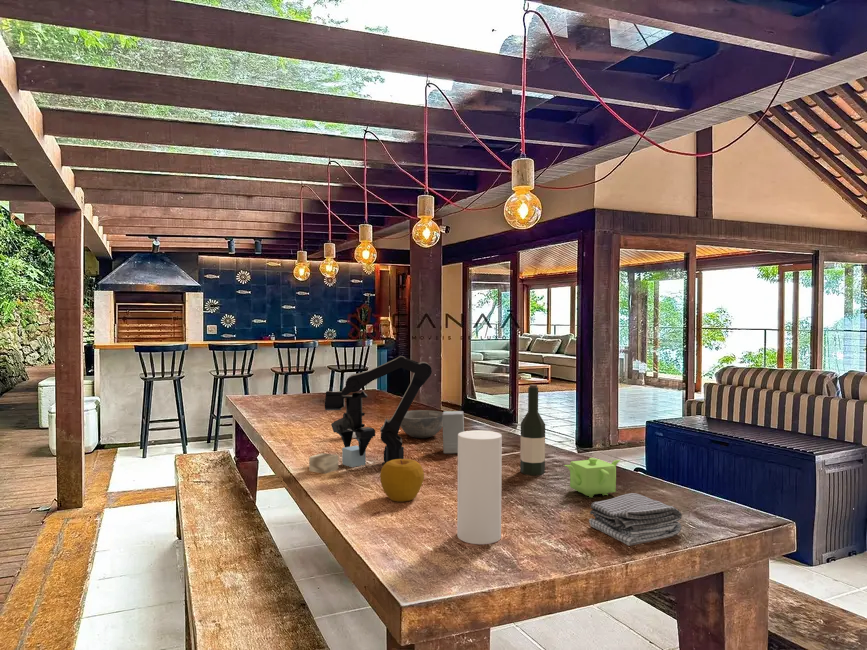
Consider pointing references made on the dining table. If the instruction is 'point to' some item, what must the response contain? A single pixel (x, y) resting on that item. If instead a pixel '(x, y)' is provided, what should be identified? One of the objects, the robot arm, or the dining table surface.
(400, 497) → the apple
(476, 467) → the tall pillar cylinder
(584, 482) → the teapot
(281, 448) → the dining table surface
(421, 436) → the bowl
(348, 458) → the blue cube
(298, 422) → the dining table surface
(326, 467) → the birch block
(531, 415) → the wine bottle
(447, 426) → the skincare box
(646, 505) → the towel
